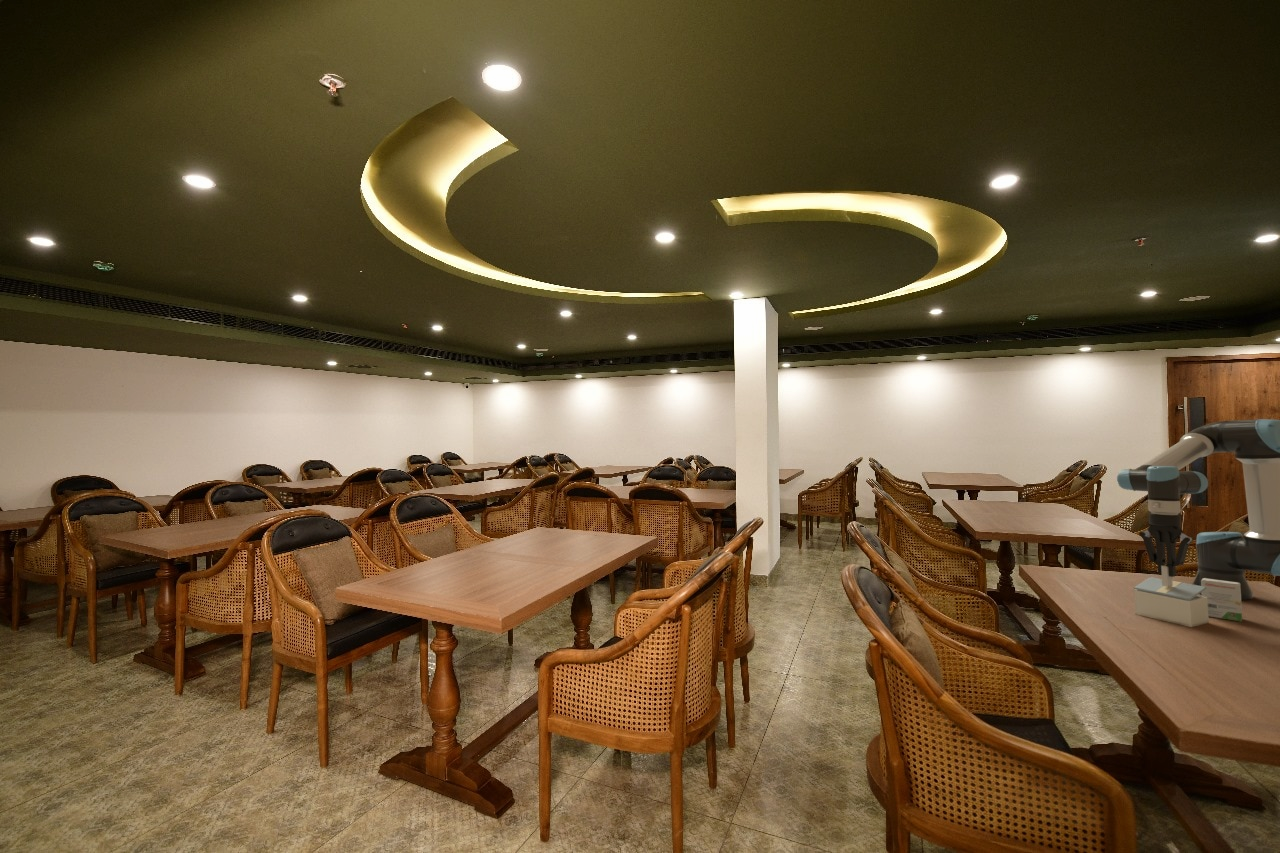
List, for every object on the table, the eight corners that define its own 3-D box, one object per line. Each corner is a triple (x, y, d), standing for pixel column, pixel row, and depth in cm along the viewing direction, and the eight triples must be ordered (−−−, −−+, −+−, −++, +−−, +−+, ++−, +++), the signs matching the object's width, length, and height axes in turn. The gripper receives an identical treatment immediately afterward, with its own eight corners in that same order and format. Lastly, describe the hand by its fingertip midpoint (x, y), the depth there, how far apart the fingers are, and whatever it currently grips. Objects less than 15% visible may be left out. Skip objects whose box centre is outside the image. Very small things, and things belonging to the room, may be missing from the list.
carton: (1152, 610, 180) (1151, 586, 180) (1208, 622, 167) (1207, 597, 167) (1135, 614, 176) (1134, 589, 176) (1191, 627, 163) (1190, 601, 163)
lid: (1150, 578, 180) (1150, 576, 180) (1206, 588, 167) (1205, 586, 167) (1134, 588, 176) (1133, 587, 176) (1189, 600, 163) (1189, 598, 163)
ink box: (1242, 618, 170) (1240, 582, 170) (1241, 622, 167) (1239, 584, 167) (1204, 612, 177) (1202, 577, 177) (1202, 615, 173) (1200, 579, 174)
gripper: (1132, 511, 177) (1135, 582, 176) (1184, 516, 165) (1187, 592, 164) (1145, 510, 180) (1148, 579, 179) (1197, 514, 168) (1200, 589, 167)
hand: (1167, 585), depth 171 cm, fingers closed
